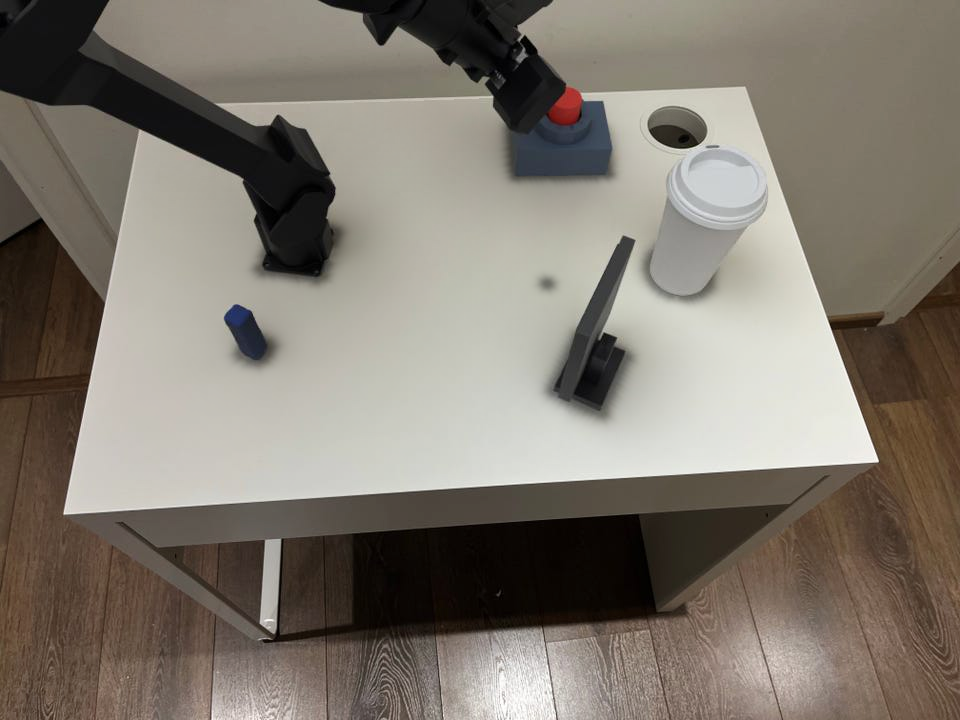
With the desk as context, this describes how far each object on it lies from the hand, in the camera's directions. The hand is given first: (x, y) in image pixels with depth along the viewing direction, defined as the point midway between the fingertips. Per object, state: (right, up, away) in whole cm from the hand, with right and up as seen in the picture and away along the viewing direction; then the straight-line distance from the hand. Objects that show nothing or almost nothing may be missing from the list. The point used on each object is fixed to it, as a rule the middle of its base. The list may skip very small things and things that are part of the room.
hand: (538, 82), depth 74 cm
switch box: (+3, -4, +12) cm, 13 cm away
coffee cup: (+16, -20, +4) cm, 26 cm away
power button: (+3, -1, +7) cm, 8 cm away
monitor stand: (+4, -30, -3) cm, 31 cm away
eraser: (-29, -29, -3) cm, 41 cm away
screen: (+4, -29, -5) cm, 30 cm away
